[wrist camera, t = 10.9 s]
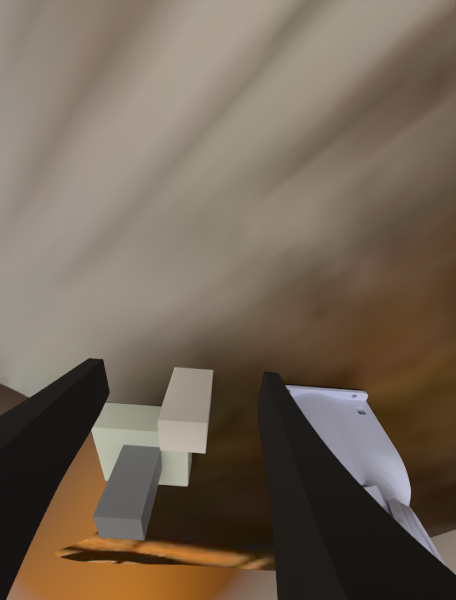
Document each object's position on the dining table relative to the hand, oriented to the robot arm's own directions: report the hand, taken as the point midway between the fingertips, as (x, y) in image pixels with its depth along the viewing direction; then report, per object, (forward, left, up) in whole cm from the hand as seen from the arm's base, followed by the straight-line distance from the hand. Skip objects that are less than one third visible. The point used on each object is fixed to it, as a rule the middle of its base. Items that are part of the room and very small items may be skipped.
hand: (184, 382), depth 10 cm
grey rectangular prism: (+6, +20, -7) cm, 22 cm away
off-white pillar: (+1, +11, -10) cm, 15 cm away
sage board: (+6, +20, -10) cm, 23 cm away
